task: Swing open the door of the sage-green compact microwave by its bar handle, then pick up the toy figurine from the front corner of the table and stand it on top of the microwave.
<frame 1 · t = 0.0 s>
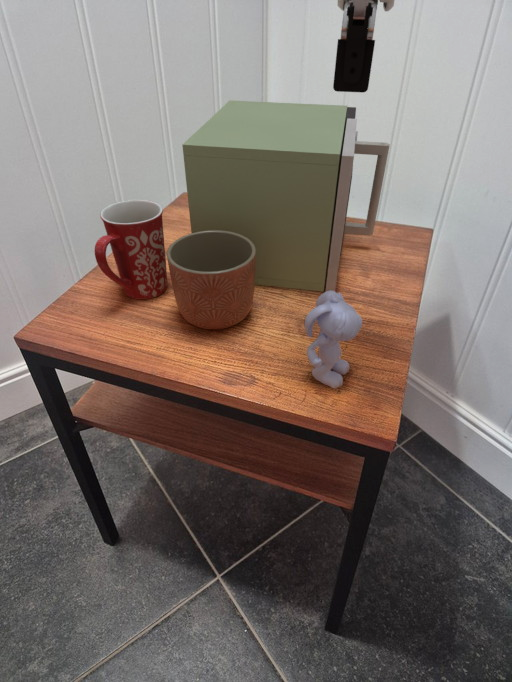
hand: (351, 81, 45), 32 cm above the table, tool pointing down, fingers open, 9 cm apart
toy figurine: (327, 373, 58), on the table
planter: (216, 313, 68), on the table
mug: (139, 293, 72), on the table
microwave door: (358, 206, 72), point 11 cm above the table, hinge at 0.0°
microwave: (272, 246, 84), on the table
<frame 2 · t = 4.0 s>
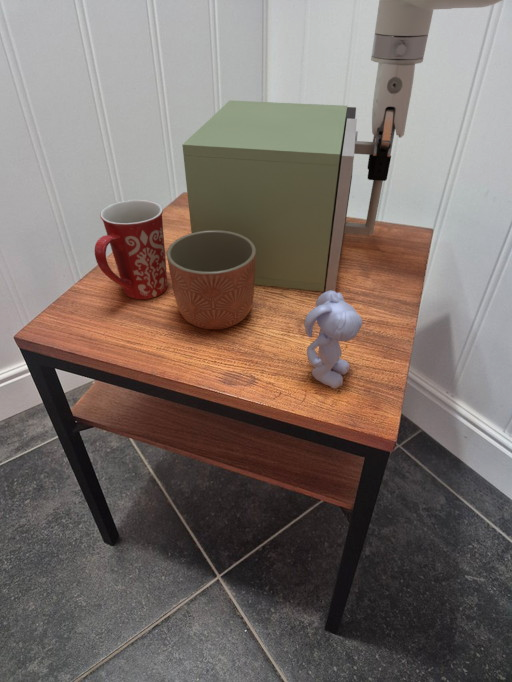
hand: (376, 173, 76), 14 cm above the table, tool pointing down, fingers open, 4 cm apart
microwave door: (358, 206, 72), point 11 cm above the table, hinge at 0.0°, touching gripper
everything else where it was.
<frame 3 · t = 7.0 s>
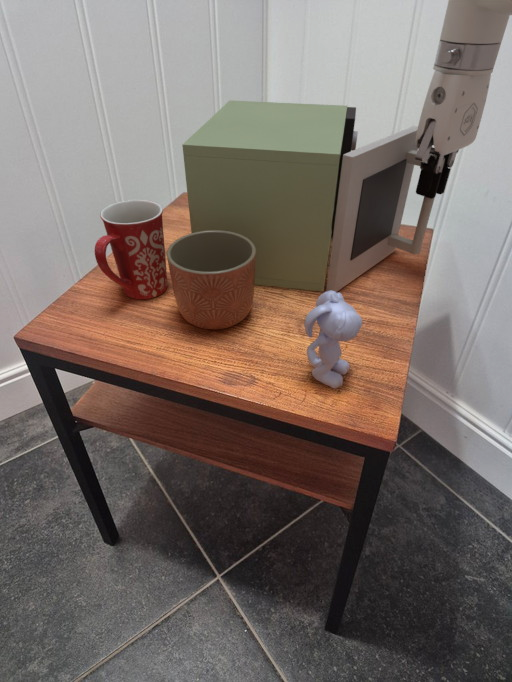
hand: (429, 192, 70), 14 cm above the table, tool pointing down, fingers closed on microwave door
microwave door: (389, 216, 69), point 11 cm above the table, hinge at 32.2°, touching gripper
everything else where it was.
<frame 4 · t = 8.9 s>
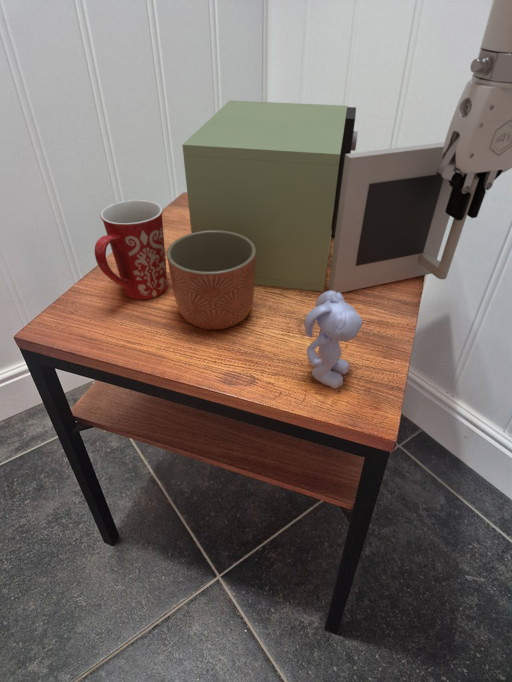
hand: (460, 214, 64), 14 cm above the table, tool pointing down, fingers closed on microwave door
microwave door: (405, 229, 65), point 11 cm above the table, hinge at 59.5°, touching gripper
everything else where it was.
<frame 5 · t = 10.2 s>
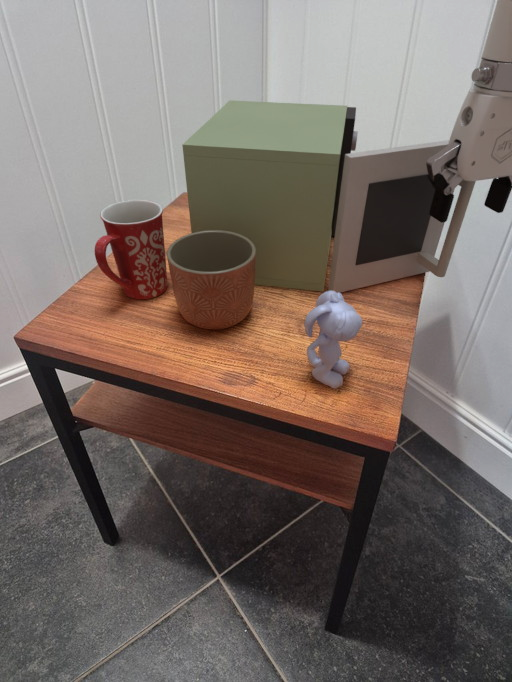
hand: (465, 213, 63), 14 cm above the table, tool pointing down, fingers open, 9 cm apart
microwave door: (404, 228, 66), point 11 cm above the table, hinge at 57.4°
everything else where it was.
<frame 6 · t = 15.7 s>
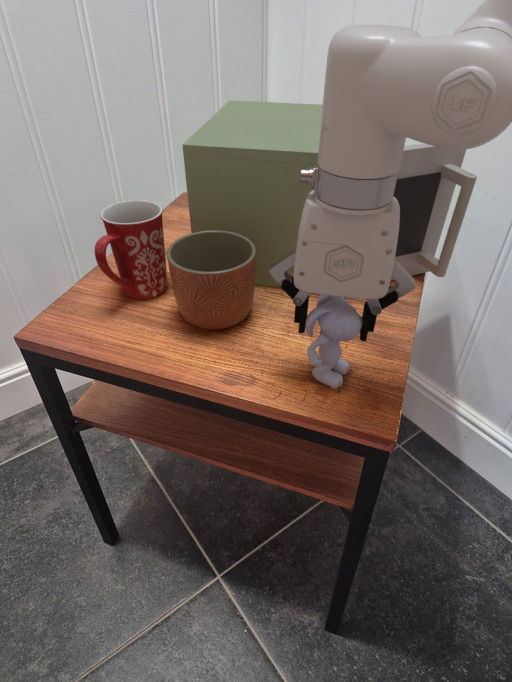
hand: (332, 329, 53), 7 cm above the table, tool pointing down, fingers closed on toy figurine, 6 cm apart
toy figurine: (327, 373, 58), on the table, touching gripper
everything else where it was.
when the fingers open (29 cm above the table, at t = 22.9 s): toy figurine stays where it is, resting on microwave.
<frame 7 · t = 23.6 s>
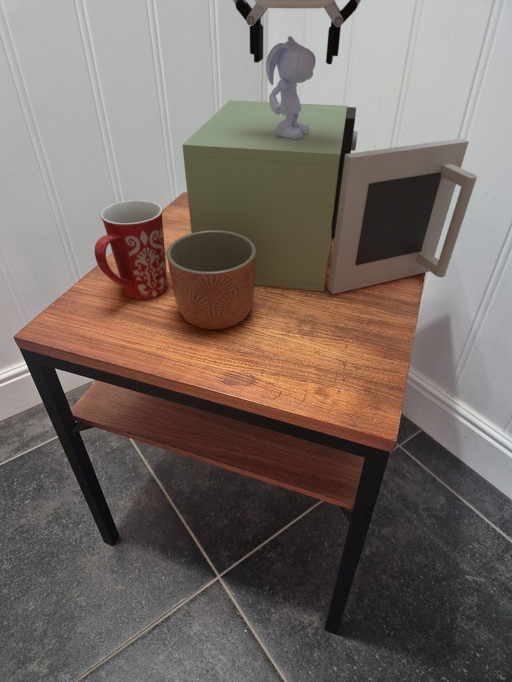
hand: (293, 61, 59), 31 cm above the table, tool pointing down, fingers open, 9 cm apart
toy figurine: (290, 135, 65), point 22 cm above the table, touching microwave
everything else where it was.
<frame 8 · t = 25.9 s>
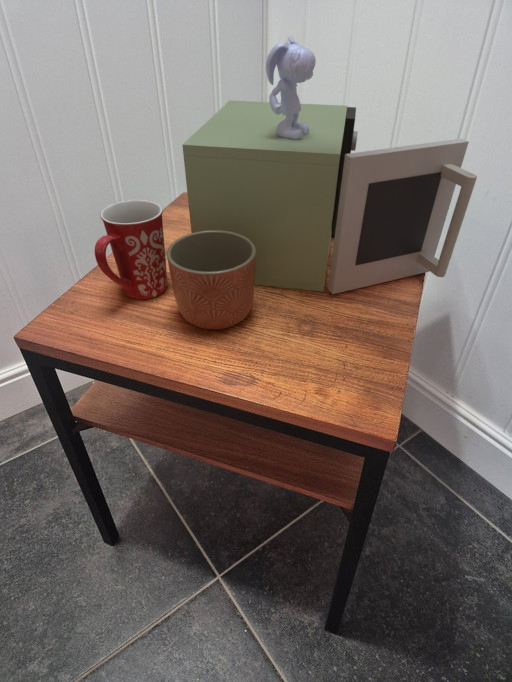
nothing on the table moved.
at the end: microwave door at +57° (first picture: +0°); toy figurine inside the target area on the microwave (0.3 cm from its centre), point 21.8 cm above the microwave's base; toy figurine tilted 0° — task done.
